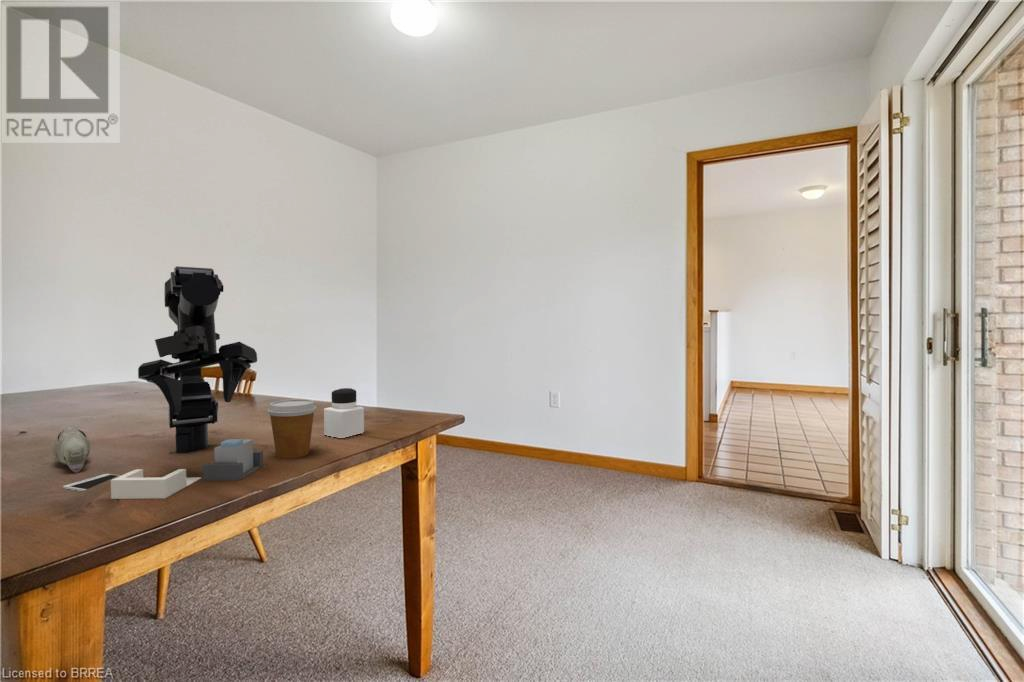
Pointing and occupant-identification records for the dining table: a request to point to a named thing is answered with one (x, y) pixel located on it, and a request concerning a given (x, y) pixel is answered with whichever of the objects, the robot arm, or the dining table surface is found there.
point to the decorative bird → (72, 447)
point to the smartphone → (89, 482)
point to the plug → (235, 452)
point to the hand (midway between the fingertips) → (201, 407)
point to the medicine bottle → (343, 415)
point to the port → (149, 485)
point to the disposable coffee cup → (292, 426)
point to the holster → (230, 469)
